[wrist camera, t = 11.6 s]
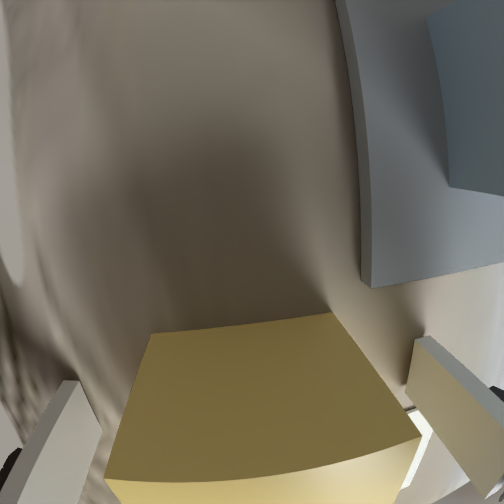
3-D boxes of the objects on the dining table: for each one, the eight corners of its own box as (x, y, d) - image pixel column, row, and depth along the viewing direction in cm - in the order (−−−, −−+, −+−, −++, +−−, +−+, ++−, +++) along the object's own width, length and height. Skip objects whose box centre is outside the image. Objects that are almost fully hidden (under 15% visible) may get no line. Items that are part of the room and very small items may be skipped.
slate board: (321, -50, 7) (328, -62, 6) (527, 22, 8) (536, 19, 7) (360, 280, 10) (371, 288, 9) (549, 243, 11) (559, 247, 10)
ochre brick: (152, 332, 10) (103, 478, 4) (331, 311, 10) (422, 435, 5) (187, 449, 12) (182, 569, 6) (326, 431, 12) (370, 543, 6)
